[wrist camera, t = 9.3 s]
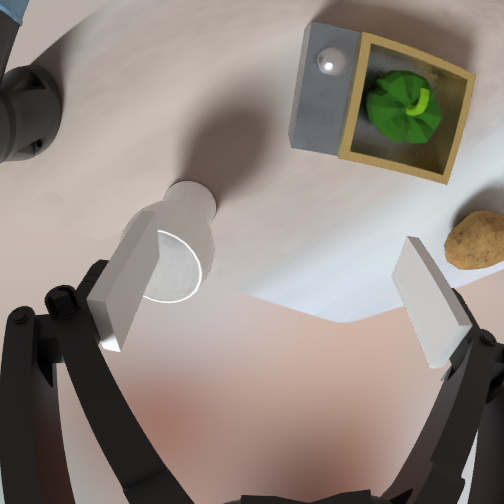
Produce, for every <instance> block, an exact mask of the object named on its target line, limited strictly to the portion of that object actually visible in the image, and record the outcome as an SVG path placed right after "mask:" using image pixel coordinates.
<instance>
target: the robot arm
mask: <svg viewBox="0 0 504 504" xmlns="http://www.w3.org/2000/svg"><path fill="white" fill-rule="evenodd" d="M28 2H29V0H0V163H2V162H7V161H19V160H27V159H30V158H33V157H34V156H36V155H38V154H40V153H41V152H43V151H44V150H46V149H47V148H48V147H49V146H50V144H51V143H52V142H53V140H54V138H55V136H56V134H57V131H58V128H59V125H60V119H61V100H60V95H59V91H58V88H57V86H56V83H55V81H54V80H53V78H52V77H51V76H50V74H49V73H48V72H47V71H45V70H44V69H42V68H40V67H38V66H34V65H27V66H22V67H17V68H14V69H12V70H10V71H8V72H7V73H5V74H4V72H5V69H6V66H7V62H8V59H9V56H10V53H11V49H12V46H13V44H14V41H15V38H16V35H17V32H18V29H19V27H20V26H21V25H22V18H23V15H24V12H25V10H26V7H27V5H28ZM159 258H160V253H159V242H158V229H157V215H156V212H154V211H142V212H141V213H140V215H139V216H138V217H137V219H136V220H135V222H134V223H133V225H132V226H131V228H130V229H129V231H128V232H127V234H126V235H125V237H124V238H123V240H122V242H121V243H120V245H119V246H118V248H117V249H116V251H115V252H114V254H113V256H112V257H111V259H110V260H99V261H97V262H96V263H95V264H93V265H92V266H91V267H90V269H89V271H88V272H87V274H86V275H85V277H84V278H83V281H81V283H80V284H79V286H78V288H77V290H75V289H74V288H73V287H72V286H69V285H61V286H57V287H55V288H53V289H51V290H50V291H49V292H48V293H47V295H46V297H45V305H46V307H47V309H48V312H49V314H45V315H36V314H35V312H34V311H33V309H32V308H31V307H28V306H21V307H19V308H16V309H15V310H13V311H12V312H11V313H10V315H9V316H8V319H7V324H6V330H5V336H4V344H3V353H2V362H1V372H0V467H1V477H2V486H3V494H4V500H5V504H75V500H74V496H73V492H72V487H71V483H70V478H69V473H68V468H67V462H66V456H65V451H64V444H63V437H62V430H61V422H60V413H59V402H58V389H57V371H56V363H65V364H66V367H67V370H68V372H69V375H70V378H71V381H72V383H73V386H74V388H75V391H76V393H77V396H78V398H79V401H80V403H81V406H82V408H83V410H84V413H85V415H86V417H87V419H88V422H89V424H90V426H91V428H92V430H93V433H94V434H95V437H96V439H97V441H98V443H99V445H100V447H101V449H102V451H103V453H104V455H105V456H106V458H107V460H108V462H109V464H110V465H111V468H112V469H113V471H114V473H115V475H116V477H117V478H118V480H119V482H120V483H121V486H122V488H123V492H124V494H125V496H126V498H127V500H128V502H129V503H130V504H194V502H193V501H192V500H191V499H190V497H189V496H188V495H187V493H186V492H185V491H184V489H183V488H182V487H181V485H180V484H179V482H178V481H177V480H176V478H175V477H174V476H173V474H172V473H171V472H170V470H169V469H168V468H167V467H166V465H165V464H164V463H163V461H162V460H161V458H160V457H159V455H158V454H157V452H156V451H155V449H154V448H153V446H152V444H151V443H150V441H149V440H148V438H147V436H146V435H145V433H144V432H143V430H142V428H141V427H140V425H139V423H138V422H137V420H136V418H135V416H134V415H133V413H132V412H131V409H130V408H129V406H128V404H127V402H126V400H125V399H124V397H123V395H122V393H121V391H120V389H119V388H118V386H117V384H116V382H115V380H114V378H113V376H112V374H111V372H110V370H109V368H108V366H107V364H106V362H105V359H104V357H103V355H102V353H101V351H100V349H99V347H98V344H99V342H100V340H101V343H102V345H103V348H104V349H107V350H113V351H118V352H121V349H122V347H123V344H124V342H125V339H126V336H127V334H128V331H129V328H130V326H131V324H132V321H133V319H134V316H135V313H136V311H137V309H138V306H139V304H140V302H141V299H142V297H143V294H144V292H145V290H146V287H147V285H148V283H149V280H150V278H151V276H152V273H153V271H154V269H155V267H156V264H157V262H158V260H159ZM391 277H392V279H393V281H394V283H395V285H396V288H397V290H398V292H399V294H400V296H401V299H402V301H403V303H404V305H405V308H406V310H407V312H408V315H409V317H410V319H411V322H412V324H413V327H414V329H415V331H416V334H417V336H418V338H419V341H420V344H421V346H422V349H423V352H424V354H425V357H426V359H427V362H428V365H429V367H430V368H431V369H432V368H442V367H443V366H444V365H445V364H446V363H447V361H448V360H449V359H450V361H451V364H452V365H451V367H450V368H449V369H448V371H447V372H446V373H445V374H444V376H443V377H442V378H441V381H442V380H443V379H444V378H445V379H444V382H443V384H442V387H441V389H440V392H439V394H438V397H437V399H436V401H435V403H434V406H433V408H432V410H431V412H430V415H429V417H428V419H427V421H426V423H425V425H424V427H423V430H422V431H421V433H420V435H419V437H418V439H417V441H416V443H415V445H414V447H413V449H412V451H411V452H410V454H409V456H408V458H407V460H406V462H405V463H404V465H403V467H402V469H401V470H400V472H399V474H398V476H397V477H396V479H395V480H394V482H393V483H392V485H391V486H390V487H389V488H388V489H387V490H386V491H385V492H384V493H383V494H382V496H381V497H377V496H372V495H371V492H370V490H362V491H354V492H346V493H340V494H337V495H334V496H331V497H328V498H324V499H321V500H318V501H315V502H311V503H306V502H300V501H295V500H291V499H286V498H281V497H277V496H251V495H242V496H241V499H240V500H236V501H231V502H227V503H224V504H457V502H458V500H459V498H460V496H461V493H462V491H463V489H464V485H465V479H463V478H461V475H462V472H463V469H464V466H465V464H466V461H467V459H468V456H469V453H470V451H471V447H472V445H473V442H474V439H475V436H476V433H477V430H478V437H477V447H476V456H475V463H474V470H473V477H472V483H471V488H470V493H469V499H468V503H467V504H504V344H500V343H497V341H496V339H495V337H494V336H493V335H492V334H491V333H490V332H489V331H487V330H484V329H480V328H479V326H478V324H477V322H476V320H475V318H474V317H473V315H472V313H471V312H470V310H469V308H468V306H467V305H466V304H465V301H464V300H463V298H462V296H461V295H460V294H459V293H458V292H457V291H456V290H455V289H454V288H451V287H450V285H449V284H448V282H447V280H446V279H445V277H444V276H443V274H442V272H441V271H440V269H439V268H438V266H437V265H436V263H435V262H434V260H433V259H432V257H431V256H430V254H429V253H428V251H427V250H426V248H425V247H424V245H423V244H422V242H421V241H420V239H419V238H417V237H409V236H407V237H406V240H405V243H404V245H403V248H402V251H401V254H400V256H399V259H398V261H397V264H396V266H395V269H394V272H393V274H392V276H391Z"/></svg>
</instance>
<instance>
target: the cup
mask: <svg viewBox="0 0 504 504" xmlns="http://www.w3.org/2000/svg"><path fill="white" fill-rule="evenodd" d="M142 211H154V212H156V215H157V229H158V242H159V253H160V258H159V260H158V262H157V264H156V267H155V269H154V271H153V273H152V276H151V278H150V280H149V283H148V285H147V287H146V290H145V292H144V294H143V296H144V297H146V298H148V299H151V300H153V301H158V302H162V303H174V302H179V301H183V300H185V299H187V298H189V297H191V296H192V295H193V294H194V293H195V292H196V291H197V290H198V289H199V287H200V286H201V285H202V283H203V282H204V280H205V279H206V277H207V275H208V273H209V271H210V269H211V266H212V262H213V258H214V251H215V247H214V241H213V236H212V231H211V228H210V226H209V225H210V224H211V222H212V220H213V218H214V216H215V214H216V202H215V199H214V197H213V195H212V194H211V192H210V191H209V190H208V189H207V188H206V187H204V186H203V185H201V184H199V183H197V182H192V181H181V182H179V183H176V184H174V185H173V186H171V187H170V188H169V189H168V191H167V192H166V194H165V196H164V198H163V201H159V202H157V203H154V204H152V205H149V206H147V207H145V208H143V209H142V210H140V211H139V212H138V213H136V214H135V215H134V217H133V218H132V219H131V220H130V222H129V223H128V224H127V226H126V228H125V229H124V231H123V233H122V236H121V240H120V243H121V242H122V240H123V238H124V237H125V235H126V234H127V232H128V231H129V229H130V228H131V226H132V225H133V223H134V222H135V220H136V219H137V217H138V216H139V215H140V213H141V212H142ZM120 243H119V245H120Z"/></svg>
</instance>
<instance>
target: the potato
mask: <svg viewBox="0 0 504 504" xmlns="http://www.w3.org/2000/svg"><path fill="white" fill-rule="evenodd" d="M444 248H445V256H446V260H447V262H449V263H450V264H452V265H454V266H455V267H457V268H458V269H463V270H472V269H481V268H487V267H489V266H492V265H495V264H497V263H499V262H501V261H503V260H504V215H502V214H499V213H496V212H492V211H485V210H480V211H474V212H472V213H470V214H469V215H468V216H467V217H466V218H465V219H464V220H463V221H462V222H461V223H459V224H458V225H457V226H456V227H455V228H454V229H453V230H452V231H451V232H450V233H449V235H448V237H447V240H446V242H445V244H444Z"/></svg>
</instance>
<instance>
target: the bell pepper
mask: <svg viewBox="0 0 504 504" xmlns="http://www.w3.org/2000/svg"><path fill="white" fill-rule="evenodd" d="M374 87H375V89H374V90H372V91H370V92H368V94H367V97H366V107H367V113H368V118H369V120H370V121H371V122H372V123H373V124H374V126H375V127H376V128H377V129H378V130H379V132H380V133H381V134H383V135H384V136H385V137H386V138H388V139H390V140H392V141H393V142H395V143H399V142H402V141H403V140H404V139H405V140H406V141H407V142H409V143H426V142H428V140H429V139H430V137H431V136H432V134H433V133H434V131H435V129H436V128H437V126H438V124H439V123H440V121H441V119H442V115H441V111H440V108H439V104H438V103H437V102H436V101H435V100H434V91H433V90H432V88H431V86H430V84H429V82H428V80H427V79H426V78H424V77H422V76H420V75H418V74H416V73H413V72H411V71H407V70H391V71H389V72H387V73H386V74H384V75H383V76H381V77H380V78H379V79H377V80H376V81H375V82H374Z"/></svg>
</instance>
